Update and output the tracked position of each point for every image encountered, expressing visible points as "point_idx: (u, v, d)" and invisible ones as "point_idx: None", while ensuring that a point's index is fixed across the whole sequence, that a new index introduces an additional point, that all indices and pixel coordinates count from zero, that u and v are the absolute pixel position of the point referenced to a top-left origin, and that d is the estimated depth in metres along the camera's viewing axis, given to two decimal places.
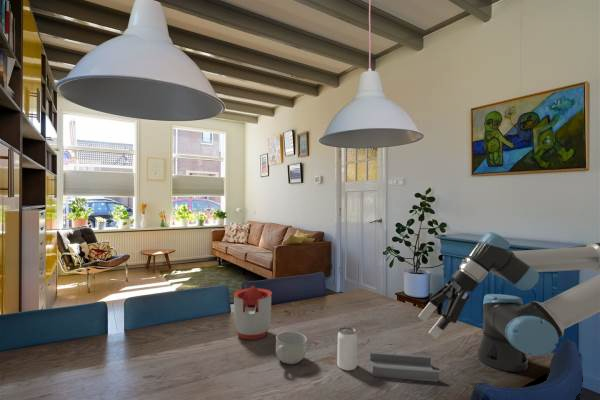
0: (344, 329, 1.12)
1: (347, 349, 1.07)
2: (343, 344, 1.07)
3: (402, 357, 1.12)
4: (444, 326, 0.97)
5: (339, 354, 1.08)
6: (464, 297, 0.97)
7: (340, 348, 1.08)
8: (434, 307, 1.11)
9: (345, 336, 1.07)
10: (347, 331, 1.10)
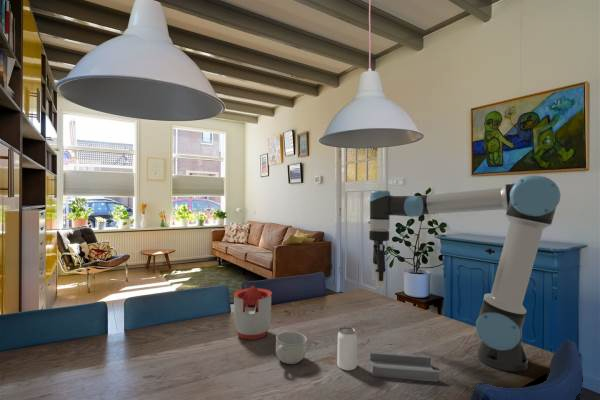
0: (344, 329, 1.12)
1: (347, 348, 1.07)
2: (343, 344, 1.07)
3: (402, 357, 1.12)
4: (381, 277, 1.20)
5: (339, 354, 1.08)
6: (381, 248, 1.21)
7: (340, 348, 1.08)
8: None
9: (345, 336, 1.07)
10: (347, 331, 1.10)
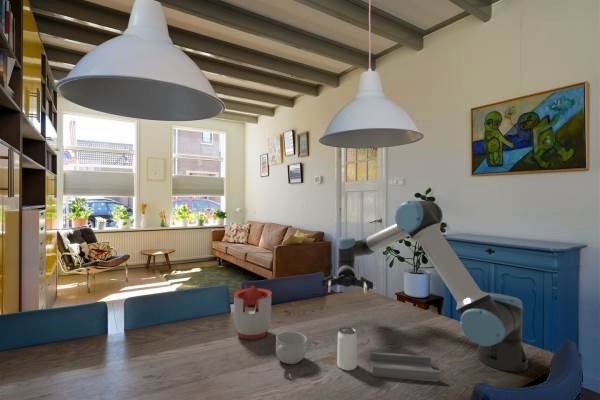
0: (344, 329, 1.12)
1: (347, 348, 1.07)
2: (343, 344, 1.07)
3: (402, 357, 1.12)
4: (325, 284, 1.28)
5: (339, 354, 1.08)
6: None
7: (340, 348, 1.08)
8: (363, 284, 1.27)
9: (345, 336, 1.07)
10: (347, 331, 1.10)
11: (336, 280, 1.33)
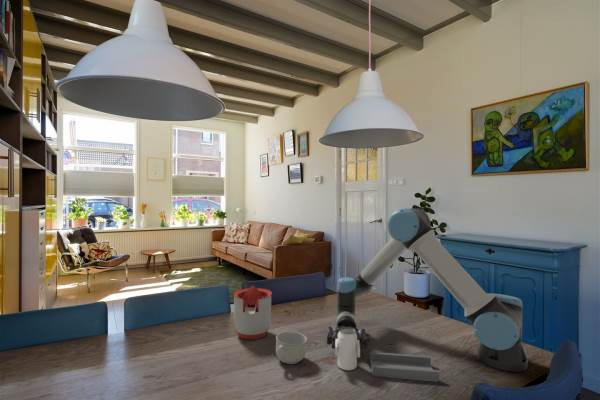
0: (344, 329, 1.12)
1: (347, 348, 1.07)
2: (343, 344, 1.07)
3: (402, 357, 1.12)
4: (331, 343, 1.10)
5: (339, 354, 1.08)
6: (329, 330, 1.21)
7: (340, 348, 1.08)
8: None
9: (345, 336, 1.07)
10: (347, 331, 1.10)
11: None
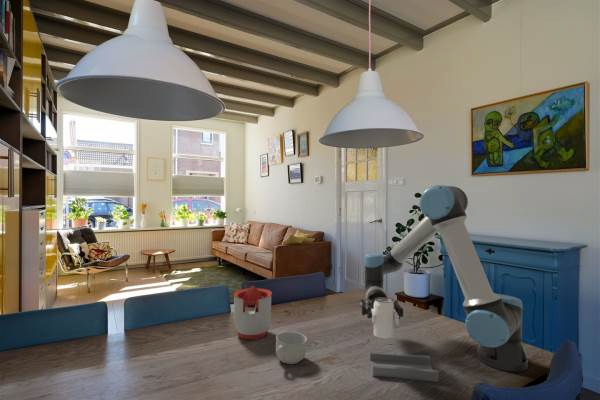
0: (380, 299, 1.11)
1: (384, 317, 1.06)
2: (380, 313, 1.06)
3: (402, 357, 1.12)
4: (368, 313, 1.09)
5: (376, 323, 1.07)
6: (361, 303, 1.20)
7: (377, 317, 1.07)
8: None
9: (382, 304, 1.06)
10: (383, 300, 1.10)
11: None
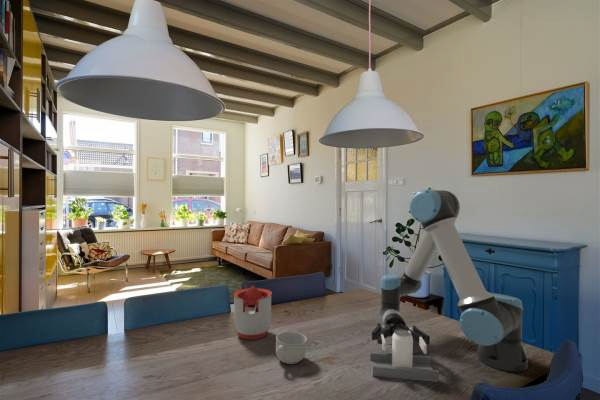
0: (398, 331, 1.10)
1: (403, 351, 1.05)
2: (399, 346, 1.05)
3: None
4: (378, 339, 1.10)
5: (395, 356, 1.06)
6: None
7: (396, 350, 1.06)
8: (419, 339, 1.09)
9: (401, 338, 1.05)
10: (402, 332, 1.08)
11: (387, 332, 1.15)
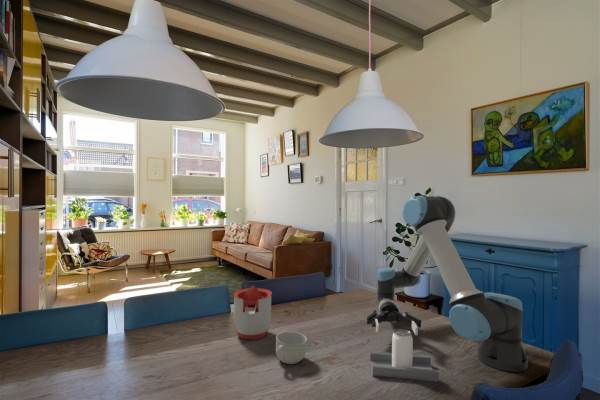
0: (398, 331, 1.09)
1: (403, 351, 1.05)
2: (399, 347, 1.05)
3: None
4: (372, 323, 1.24)
5: (395, 356, 1.06)
6: None
7: (396, 350, 1.06)
8: (412, 323, 1.23)
9: (401, 338, 1.05)
10: (402, 332, 1.08)
11: (381, 317, 1.29)
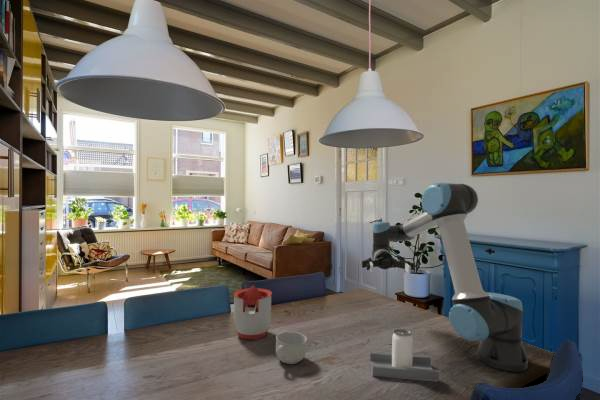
0: (398, 331, 1.09)
1: (403, 351, 1.05)
2: (399, 347, 1.05)
3: None
4: (367, 265, 1.28)
5: (395, 356, 1.06)
6: None
7: (396, 350, 1.06)
8: (405, 265, 1.28)
9: (401, 338, 1.05)
10: (402, 332, 1.08)
11: (376, 262, 1.33)
